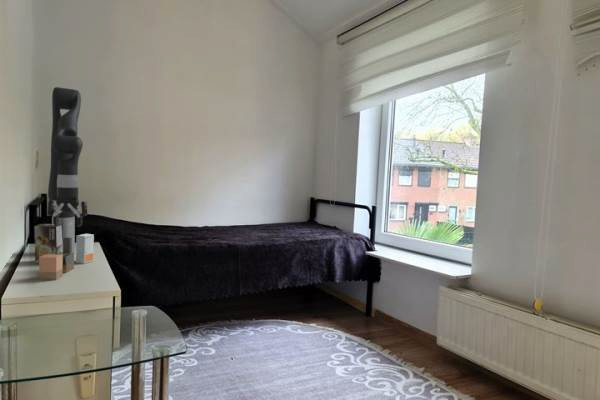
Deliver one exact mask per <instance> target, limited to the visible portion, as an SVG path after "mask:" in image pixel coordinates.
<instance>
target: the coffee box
mask: <svg viewBox="0 0 600 400" xmlns="http://www.w3.org/2000/svg"><path fill="white" fill-rule="evenodd" d="M62 252H63V225H60V224H59V226H55V225H54V224H52V223H40V224H37V225H34V263H35V264H39V257H41V256H43V255H45V254H54V255H57V254H60V253H62Z"/></svg>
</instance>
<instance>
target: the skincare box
mask: <svg viewBox="0 0 600 400" xmlns="http://www.w3.org/2000/svg"><path fill="white" fill-rule="evenodd" d="M94 235H95V234H91V233H84V234H83V233H82V234H79V235H75V237H76V238H75V243H76V245H75V246H76V247H75V248H76V249H75V263H76V264H83V265H85V264H87V263H91V262H94V245H95V244H94V242H95V241H94V240H95V236H94Z"/></svg>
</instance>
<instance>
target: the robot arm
mask: <svg viewBox="0 0 600 400" xmlns="http://www.w3.org/2000/svg"><path fill="white" fill-rule="evenodd" d="M81 95H82V94H81V92H80V91H79V90H76V89H73V88H67V87H58V86H57V87H54V88H53V89H52V96H51V100H52V101H51V107H52V109H51V110H52V112H51V113H52V126H51V139H50V169H49V178H48V186H47V187H48V188H47V189H48V190H47V197H48V203H47V204H48V205H47V215H48V216H51V224H54V225H55V226H59V224H60V225H63V238H72V251H73V253H74V254H76V249H75V248H76V247H75V246H76V245H75V243H76V238H75V237H76V235H75V233H76V231H75V230H76V229H75V227H78V228H79V227H80V228H81V226H82V225H83V217H86V216H88V202H87V201H86V200H83V201H82V200H81V201H80V200H79V186H80V184H79V176H78V173H79V172H78V168H79V167H78V166H79V161H80V157H81V156H80V155H81V152H82V151H83V150H82V149H83V143H84V142H83V140H82V138H81V137H79V136H78V123H79V122H78V121H79V117H80V111H81V106H82V105H81V103H82V97H81ZM61 110H66V111H67V112H65V113H64V114H63V115H62V114H61ZM56 205H57V208H56V209H55V206H56ZM78 206H80V207H81V210H80V209H79V207H78ZM75 217H77V218H75ZM75 225H76V226H75Z"/></svg>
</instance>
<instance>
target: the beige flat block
mask: <svg viewBox="0 0 600 400" xmlns="http://www.w3.org/2000/svg"><path fill="white" fill-rule="evenodd" d="M71 253H73V251H72V238H63V253H62V254H60V255H63V263H64V262H65V256H67V255H69V254H71Z"/></svg>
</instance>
